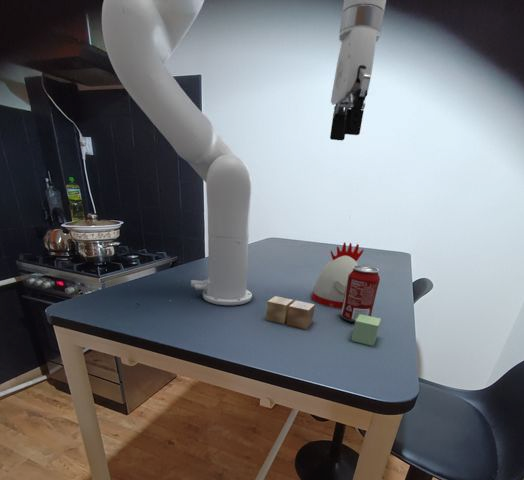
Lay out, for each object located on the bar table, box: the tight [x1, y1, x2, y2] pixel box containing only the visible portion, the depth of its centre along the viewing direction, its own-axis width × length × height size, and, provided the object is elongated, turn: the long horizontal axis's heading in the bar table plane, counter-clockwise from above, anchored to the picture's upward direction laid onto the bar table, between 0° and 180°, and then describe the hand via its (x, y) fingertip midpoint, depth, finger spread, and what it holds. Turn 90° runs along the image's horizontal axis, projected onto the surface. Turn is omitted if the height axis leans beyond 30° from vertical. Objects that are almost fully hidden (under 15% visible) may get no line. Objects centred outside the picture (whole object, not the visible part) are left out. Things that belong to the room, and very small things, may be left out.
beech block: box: [286, 299, 316, 330], centre depth 69 cm, size 4×4×4 cm
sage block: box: [350, 314, 382, 347], centre depth 64 cm, size 4×4×4 cm
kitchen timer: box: [311, 241, 364, 309], centre depth 83 cm, size 14×14×15 cm
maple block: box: [265, 295, 294, 325], centre depth 71 cm, size 4×4×4 cm
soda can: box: [340, 264, 381, 324], centre depth 72 cm, size 7×7×12 cm
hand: (343, 137), depth 67 cm, fingers open, 9 cm apart
